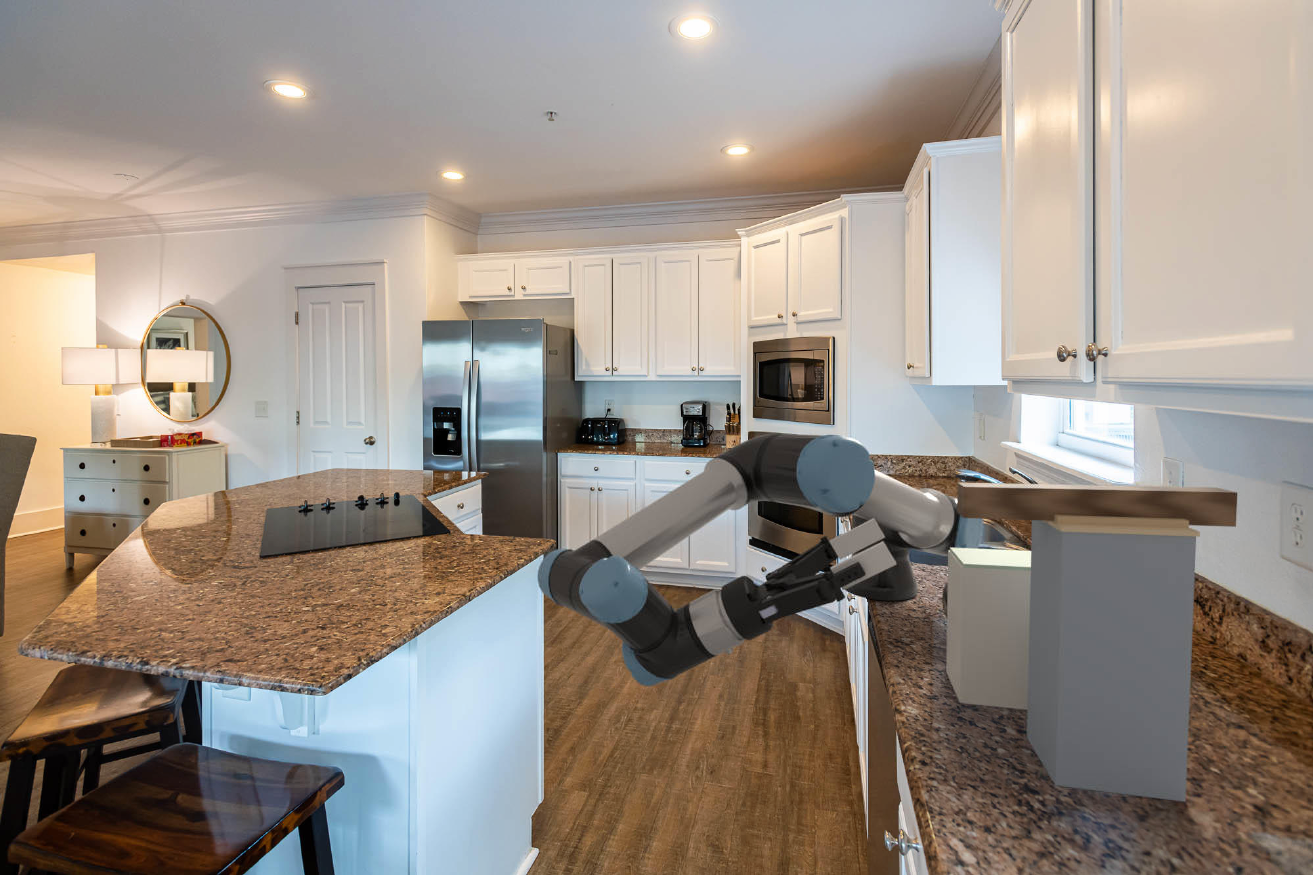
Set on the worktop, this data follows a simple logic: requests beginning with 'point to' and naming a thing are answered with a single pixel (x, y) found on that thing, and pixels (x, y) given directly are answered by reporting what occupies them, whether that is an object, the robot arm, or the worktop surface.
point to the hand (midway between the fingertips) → (884, 538)
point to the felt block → (989, 626)
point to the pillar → (1112, 652)
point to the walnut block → (1097, 502)
